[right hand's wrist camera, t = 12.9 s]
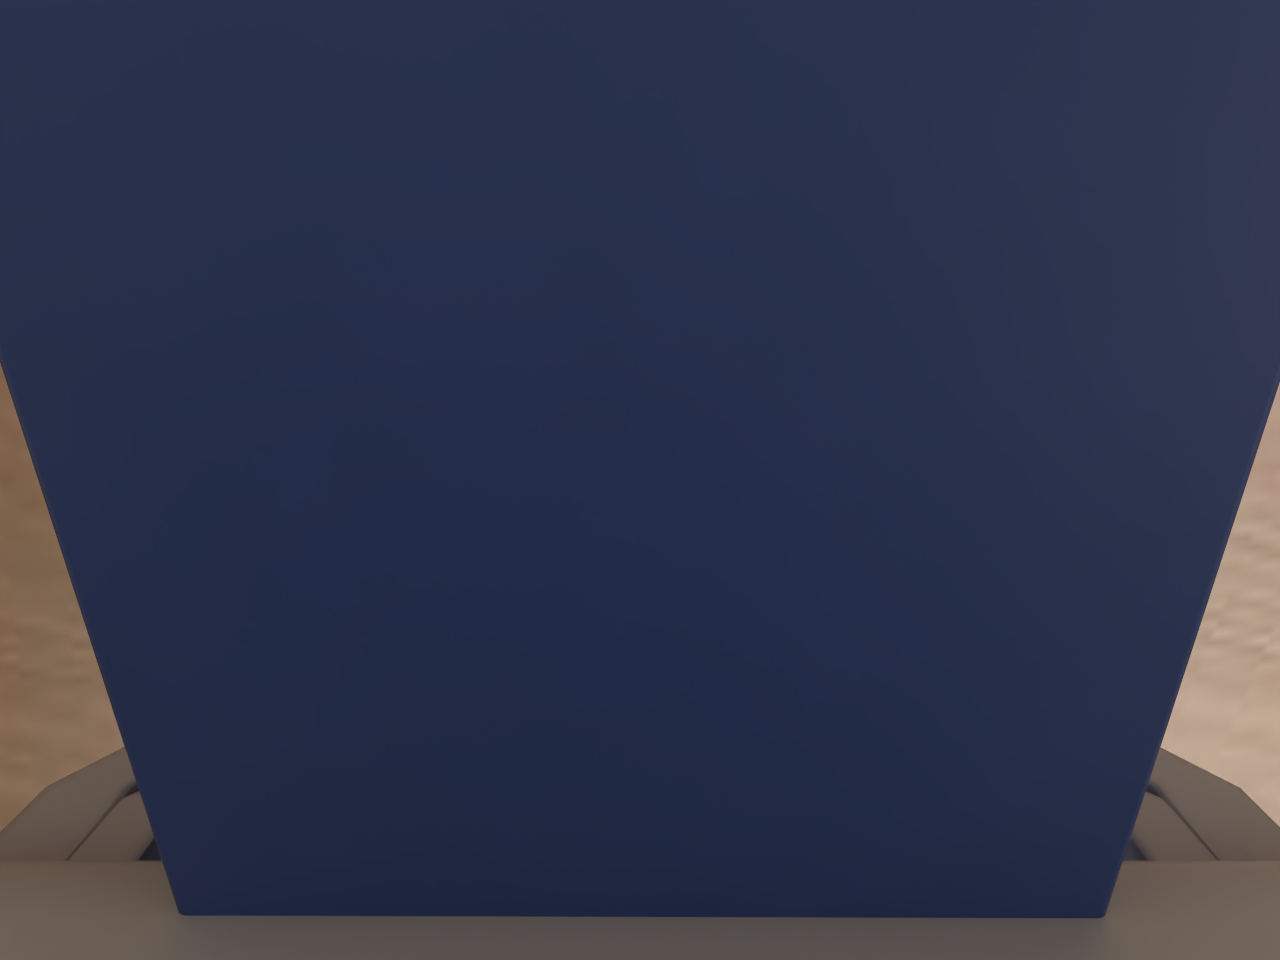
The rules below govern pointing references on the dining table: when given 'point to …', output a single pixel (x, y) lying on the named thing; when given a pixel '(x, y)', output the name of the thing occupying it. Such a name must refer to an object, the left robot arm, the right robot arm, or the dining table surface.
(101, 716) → the dining table surface
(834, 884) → the box
